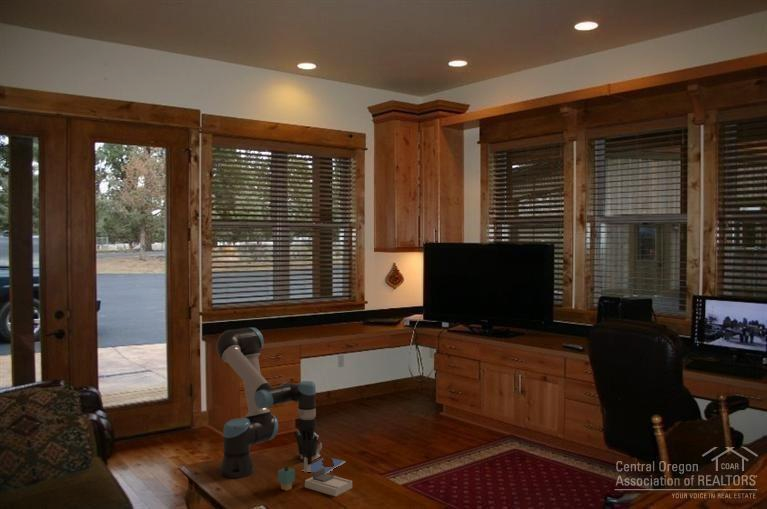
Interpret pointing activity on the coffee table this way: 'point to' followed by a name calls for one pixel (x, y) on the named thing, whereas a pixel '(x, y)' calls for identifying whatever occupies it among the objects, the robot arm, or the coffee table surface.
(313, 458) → the crystal
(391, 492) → the coffee table surface
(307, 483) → the grey tray
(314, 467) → the blue flat panel
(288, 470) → the plug
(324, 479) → the shutter
